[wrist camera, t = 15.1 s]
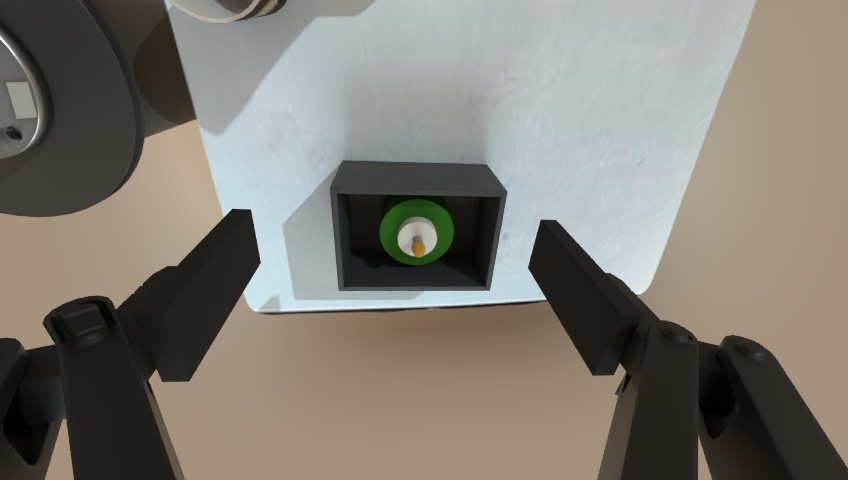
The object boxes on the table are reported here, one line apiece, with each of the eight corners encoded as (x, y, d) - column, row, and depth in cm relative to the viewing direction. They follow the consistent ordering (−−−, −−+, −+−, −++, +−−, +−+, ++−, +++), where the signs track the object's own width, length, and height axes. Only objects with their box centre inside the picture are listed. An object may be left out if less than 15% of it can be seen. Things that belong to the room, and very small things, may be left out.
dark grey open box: (348, 249, 46) (338, 291, 39) (342, 160, 41) (329, 187, 33) (474, 250, 48) (490, 290, 40) (486, 164, 42) (507, 191, 34)
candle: (423, 252, 46) (428, 300, 38) (369, 221, 44) (362, 265, 35) (460, 204, 43) (476, 244, 35) (405, 168, 41) (407, 202, 32)
